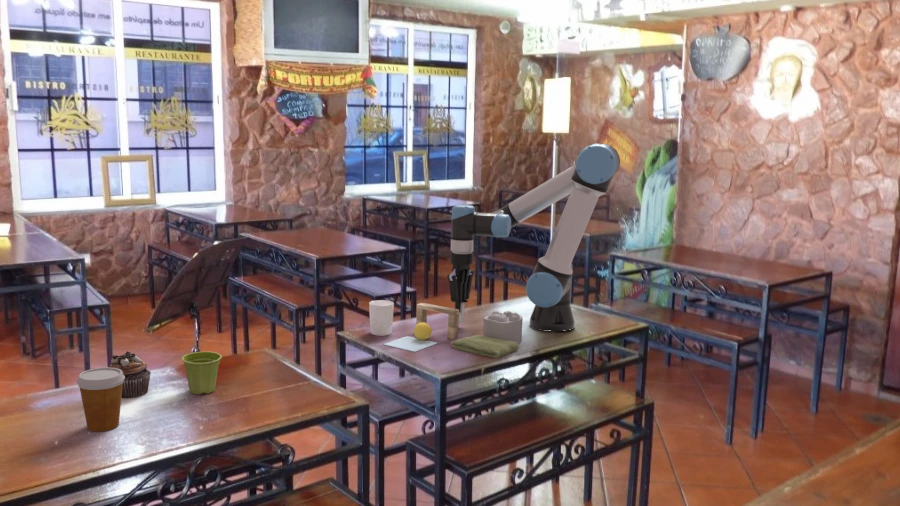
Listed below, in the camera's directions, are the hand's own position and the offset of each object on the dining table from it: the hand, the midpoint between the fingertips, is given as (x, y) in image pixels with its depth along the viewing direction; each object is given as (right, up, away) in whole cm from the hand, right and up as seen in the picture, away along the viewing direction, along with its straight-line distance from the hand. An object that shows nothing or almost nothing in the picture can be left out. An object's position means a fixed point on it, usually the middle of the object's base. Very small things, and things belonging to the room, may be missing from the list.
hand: (459, 321), depth 262 cm
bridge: (-7, -3, -10) cm, 13 cm away
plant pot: (-65, -12, -67) cm, 94 cm away
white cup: (-25, -3, -10) cm, 28 cm away
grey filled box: (+14, -5, -13) cm, 20 cm away
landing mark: (-15, -5, -22) cm, 27 cm away
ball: (-12, -2, -17) cm, 21 cm away
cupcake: (-81, -12, -71) cm, 108 cm away
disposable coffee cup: (-79, -15, -92) cm, 122 cm away
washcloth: (+7, -7, -24) cm, 26 cm away
